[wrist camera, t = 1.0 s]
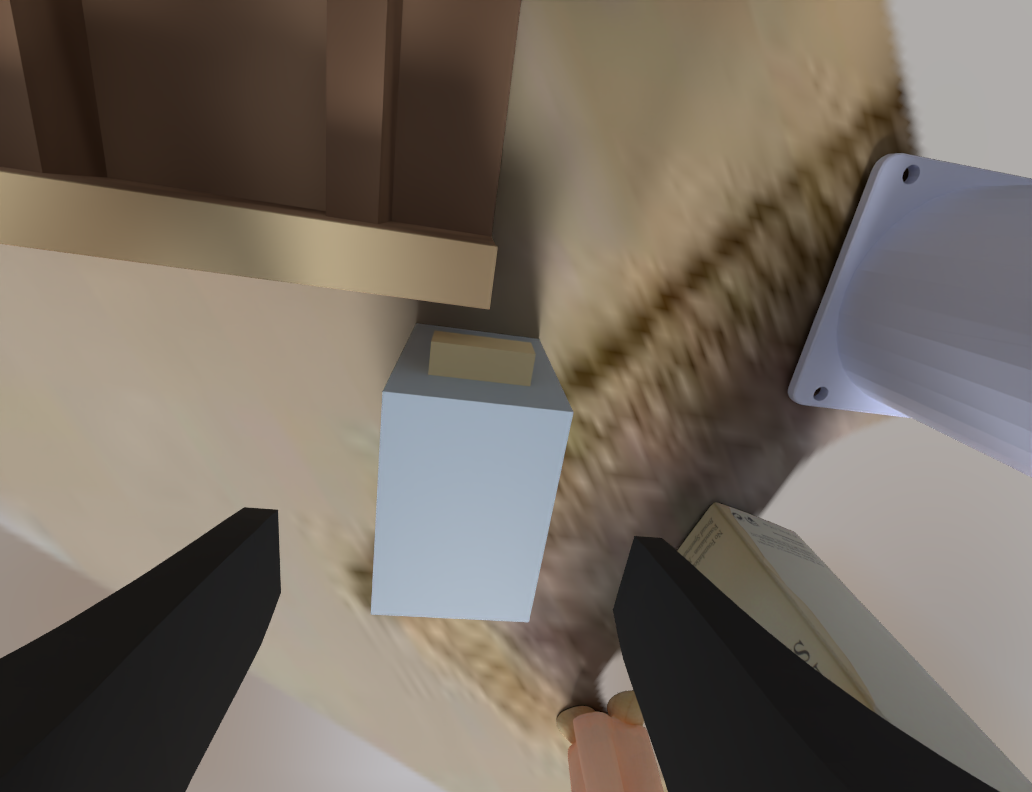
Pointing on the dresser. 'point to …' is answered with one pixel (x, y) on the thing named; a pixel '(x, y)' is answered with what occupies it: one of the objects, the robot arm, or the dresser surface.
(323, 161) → the rack
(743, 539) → the skincare box
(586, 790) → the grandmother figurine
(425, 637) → the dresser surface
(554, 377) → the cabinet block
